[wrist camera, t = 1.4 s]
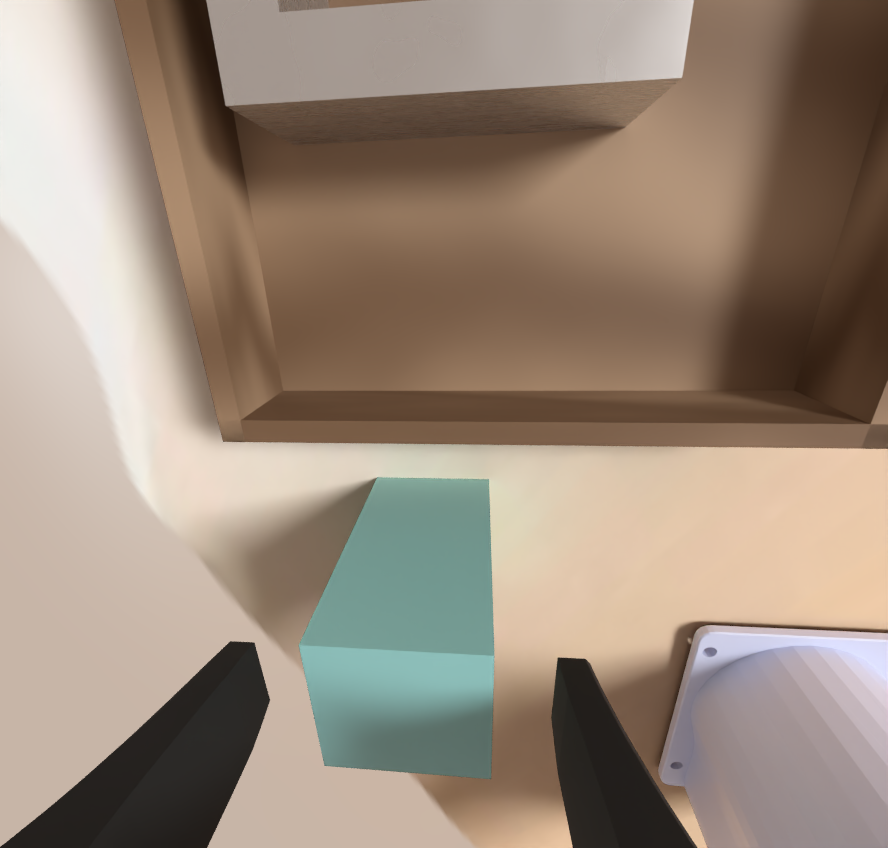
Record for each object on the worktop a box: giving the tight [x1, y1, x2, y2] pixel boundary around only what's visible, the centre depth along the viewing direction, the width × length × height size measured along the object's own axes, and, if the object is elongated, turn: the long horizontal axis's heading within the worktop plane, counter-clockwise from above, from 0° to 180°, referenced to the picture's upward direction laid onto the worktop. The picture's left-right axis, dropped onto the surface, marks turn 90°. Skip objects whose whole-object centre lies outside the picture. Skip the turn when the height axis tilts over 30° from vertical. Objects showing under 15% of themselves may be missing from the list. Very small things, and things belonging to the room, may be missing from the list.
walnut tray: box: [115, 0, 888, 449], centre depth 8 cm, size 18×16×4 cm
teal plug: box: [299, 477, 494, 779], centre depth 12 cm, size 4×4×7 cm
